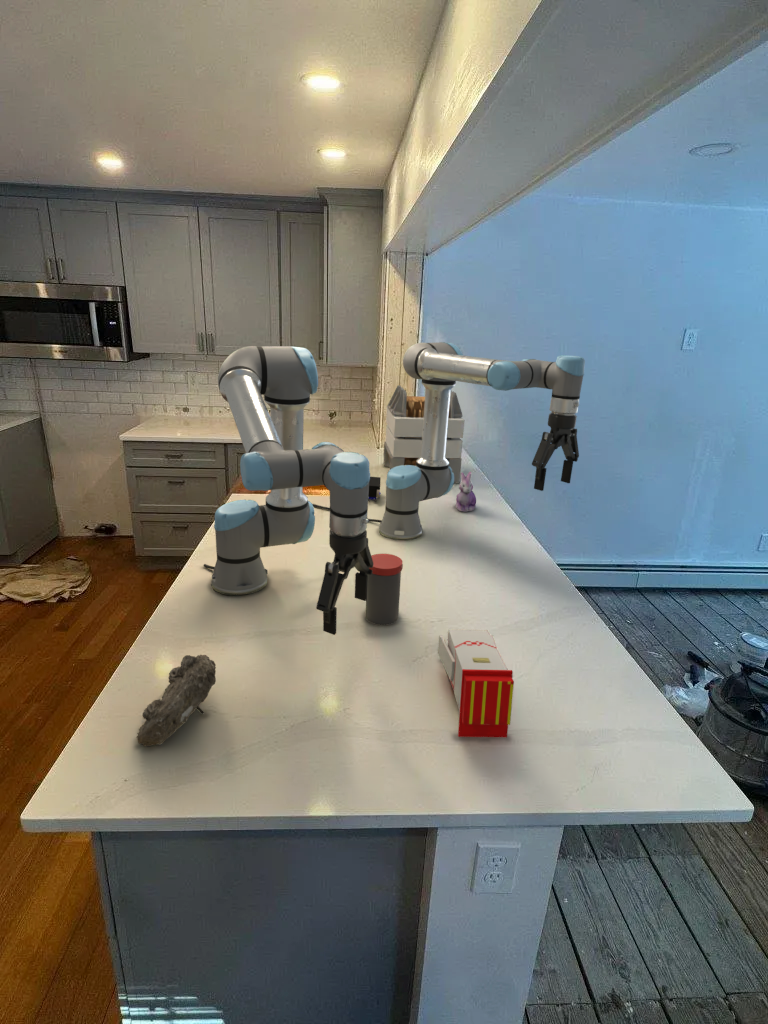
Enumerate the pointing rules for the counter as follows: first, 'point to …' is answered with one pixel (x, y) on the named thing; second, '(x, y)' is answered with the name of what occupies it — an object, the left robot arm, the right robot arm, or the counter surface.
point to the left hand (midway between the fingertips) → (345, 614)
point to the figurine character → (374, 488)
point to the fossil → (178, 699)
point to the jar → (383, 599)
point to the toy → (478, 682)
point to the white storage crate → (419, 431)
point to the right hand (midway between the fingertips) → (552, 485)
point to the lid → (386, 564)
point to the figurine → (466, 494)
